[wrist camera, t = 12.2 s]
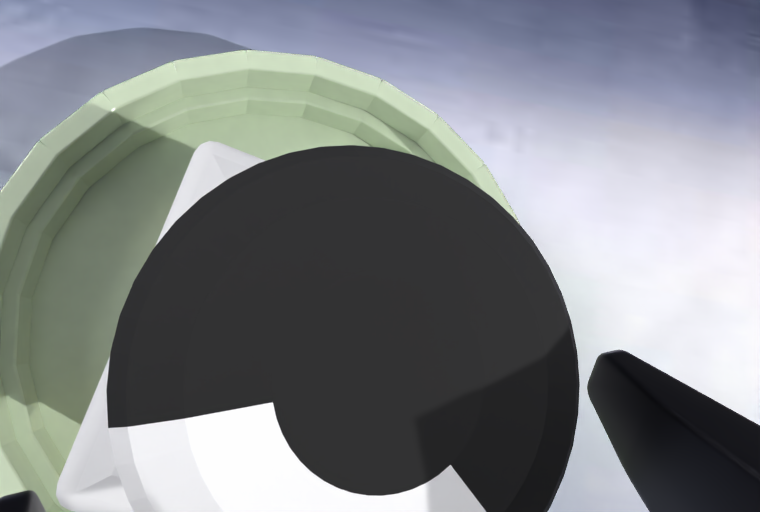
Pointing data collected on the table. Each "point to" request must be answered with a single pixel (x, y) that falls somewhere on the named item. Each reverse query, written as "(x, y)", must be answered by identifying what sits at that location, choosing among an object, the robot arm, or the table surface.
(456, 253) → the medicine bottle
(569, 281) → the table surface
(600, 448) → the table surface
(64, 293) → the bowl
